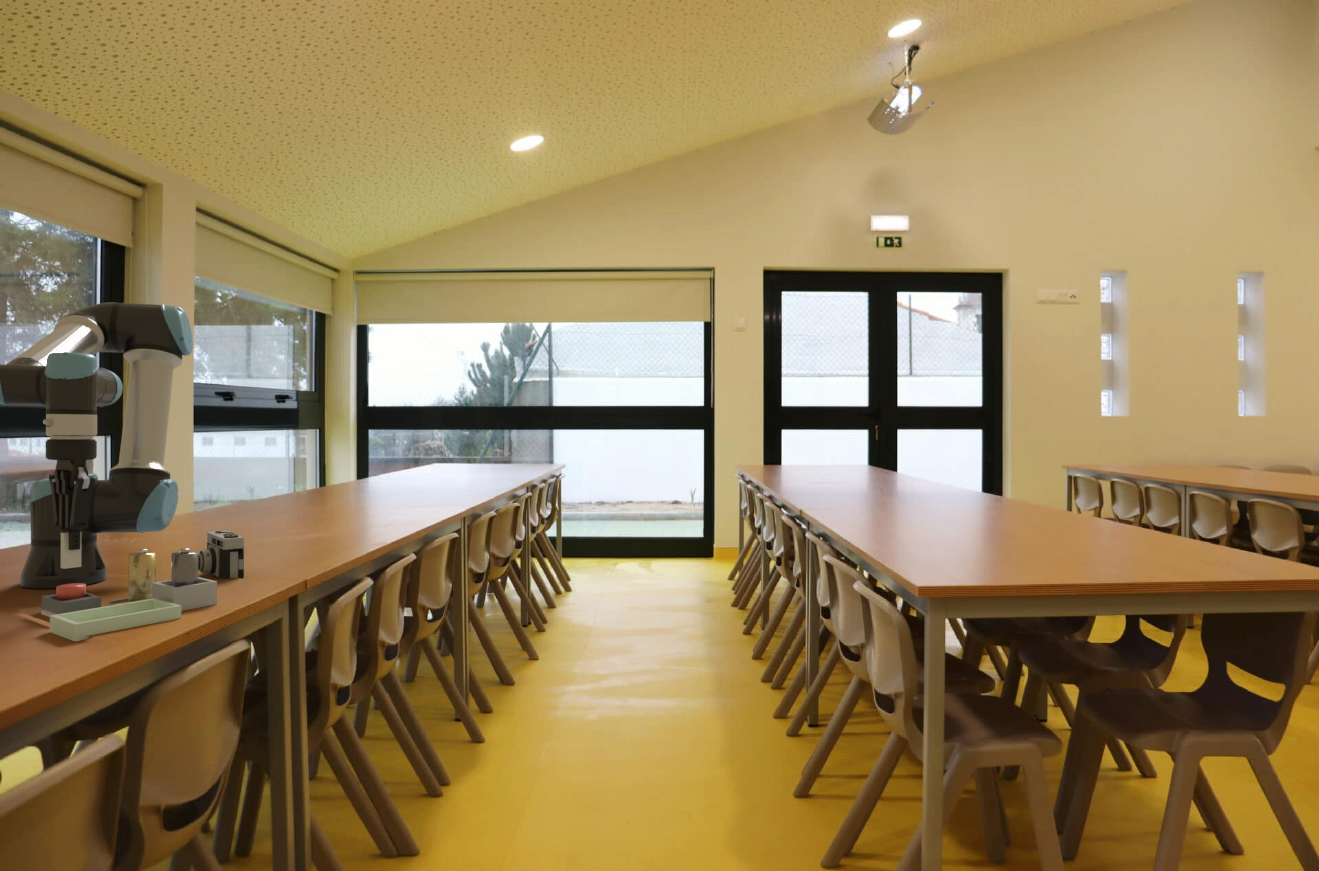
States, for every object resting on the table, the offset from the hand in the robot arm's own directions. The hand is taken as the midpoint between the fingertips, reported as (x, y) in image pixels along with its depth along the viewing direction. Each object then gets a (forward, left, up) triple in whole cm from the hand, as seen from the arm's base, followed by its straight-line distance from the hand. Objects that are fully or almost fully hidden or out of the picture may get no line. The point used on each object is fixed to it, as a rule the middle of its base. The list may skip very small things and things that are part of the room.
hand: (71, 567), depth 147 cm
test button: (0, 0, -5) cm, 5 cm away
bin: (+10, +15, -9) cm, 20 cm away
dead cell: (+10, +15, -8) cm, 20 cm away
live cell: (+1, +12, -9) cm, 15 cm away
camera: (-15, +34, -9) cm, 39 cm away
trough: (+14, +2, -9) cm, 17 cm away
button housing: (0, 0, -9) cm, 9 cm away
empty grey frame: (+1, +12, -9) cm, 15 cm away
